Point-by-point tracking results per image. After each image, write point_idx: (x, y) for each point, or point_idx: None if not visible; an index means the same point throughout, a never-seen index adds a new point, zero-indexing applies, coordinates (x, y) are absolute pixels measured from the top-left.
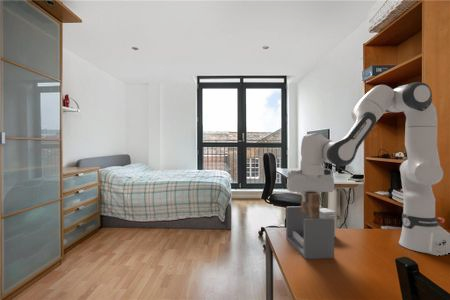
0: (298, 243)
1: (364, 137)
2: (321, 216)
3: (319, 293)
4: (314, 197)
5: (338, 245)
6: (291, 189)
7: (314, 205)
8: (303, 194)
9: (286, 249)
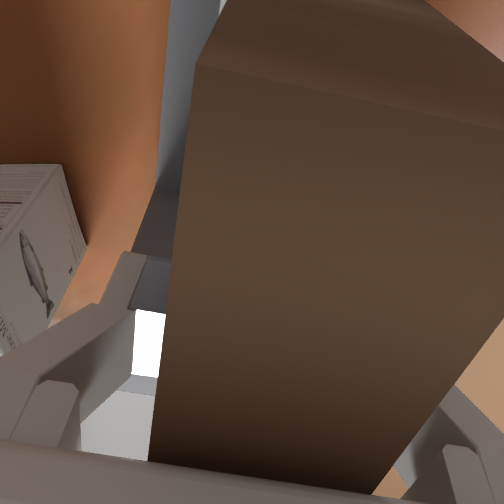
0: None
1: None
2: (4, 284)
3: None
4: (480, 77)
5: (11, 5)
6: None
7: (395, 3)
8: (488, 443)
9: None
